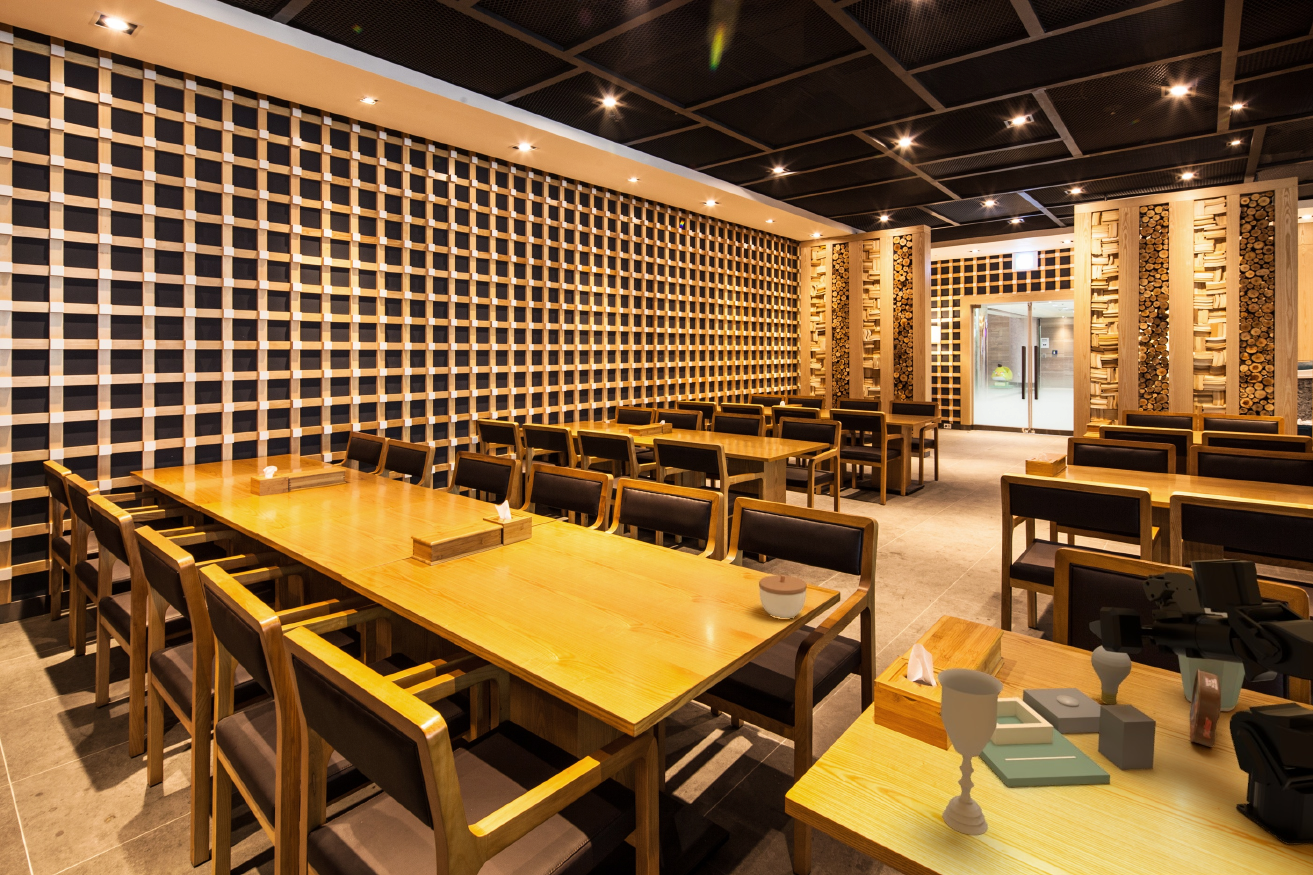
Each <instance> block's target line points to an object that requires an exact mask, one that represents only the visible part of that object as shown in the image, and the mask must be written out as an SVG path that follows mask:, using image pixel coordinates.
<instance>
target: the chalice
mask: <svg viewBox="0 0 1313 875" xmlns="http://www.w3.org/2000/svg"><path fill="white" fill-rule="evenodd" d="M937 679H938V682H939V684H940V686H941V697H940V698H941V702H940V703H941V713H940V717H941V720H942V724H943V726H944V729H945V732H946V734H947V736H948V738H949V741H950V742H951V745H952V747H953V749H954V750H955V752H956V753H957V754H959V755H961V756H962V760H961V761H962V762H961V765H959V767H958V768H959V770H960V771H961V772H960V773H961V775H962V776H961V778H960V779H958V781H957V783H958V784H959V786H960V788H961V793H960V795H955V796H953V797H952V798H951V799H950V800H949V801H948V804H947V805H946V806H945V810H943V812H942V819H943V821H944V822H945V823H946V825H947V826H948V827H950V828H952V829H953V830H954V831H956V832H959V833H962V834H965V835H971V836H977V835H982V834H985V833H986V832H987V831H988V829H989V827H988V823H987V821H986V819H985V815H984V813H983V810H982V808H981V806H980V805H979V804H978V802H977V801H976V800H975V799H973V798H972V797H971V790H972V788H974V787H975V784H974V782H973V781H972V778H971V777H972V774H973V773H974V772H975V769H974V768H973V765H972V760H973V758H976V757H980V756H979V755H980V754H981V752H982V751H983V749H984V748H985V746H986V745H987V743H988V742H989V741H990V739H991V737H992V735H993V733H994V731H995V729H996V726H997V703H998V698H999V695H1000V694H1001V693H1002V691H1003V689H1004V684H1003V682H1001V680H1000V679H998V678H997V677H995V676H993V675H992V674H988V673H986V672H983V671H979V670H976V669H971V668H970V669H969V668H957V667H956V668H947V669H945V670H941V671H940V672H939V673H937Z"/></svg>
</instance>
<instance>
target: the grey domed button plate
mask: <svg viewBox="0 0 1313 875" xmlns="http://www.w3.org/2000/svg"><path fill="white" fill-rule="evenodd" d="M1022 701H1023V702H1025V703H1026V704H1027V705H1028V706H1029V707H1031V708H1032V709H1033V710H1034V711H1035V712H1037V713H1038V714H1039V715H1040V716H1041V717H1043V718H1044V719H1045V720H1046V721H1047V722H1049V723H1050V724H1051V725H1052V726H1053V728H1055V729H1056V730H1057V731H1058V732H1059V733H1061V734H1062V735H1063V734H1083V733H1084V734H1085V733H1086V734H1087V733H1091V734H1092V733H1099V725H1100V707H1101V706H1102V705H1101V704H1100V703H1098V702H1097V701H1096V700H1094V699H1092V698H1091V697H1090V696H1088V695H1087V694H1086V693H1084V692H1083V691H1081V690H1080V689H1078V688H1077V687H1064V688H1061V687H1059V688H1031V689H1030V688H1028V689H1027V688H1026V689H1023V692H1022Z"/></svg>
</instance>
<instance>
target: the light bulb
mask: <svg viewBox="0 0 1313 875" xmlns="http://www.w3.org/2000/svg"><path fill="white" fill-rule="evenodd" d="M1090 657H1091V658H1090V661H1091V666H1092V668H1093V670H1094V672H1095V673H1096V676H1098V679H1099V681H1100V684H1101V687H1100V690H1101V692H1100V693H1101V694H1100V696H1101V697H1100V700H1101V702H1103V703H1104V704H1105V705H1117V702H1118V701H1117V700H1118V699H1117V697H1118V693H1119V687H1120V685H1121V684H1122V682H1124V681H1125V680H1126V678H1127V677H1128V676H1129V675H1130V673H1131V670H1132V661H1131V658H1130V656H1129V654H1128V653H1116V652H1109V651H1106V650H1105V649H1104V648H1103V647H1102V645H1100V646H1097V647H1096V648H1095V649H1094V650H1093V652H1092V653H1091V656H1090Z"/></svg>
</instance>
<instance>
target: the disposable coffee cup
mask: <svg viewBox="0 0 1313 875" xmlns="http://www.w3.org/2000/svg"><path fill="white" fill-rule="evenodd" d="M1204 609H1205V612H1206V613H1211V614H1217V615H1222V616H1223V617H1227V613H1215V612H1211V610H1210V608H1204ZM1177 657H1178V664H1179V669H1180V676H1181V683H1182V691H1183V694H1184V696H1185V697H1186V698H1185V699H1186V701H1188V702H1190V703H1191V701H1192V693H1193V686H1194V681H1195V676H1196V672H1197V670H1198V669H1199V670H1200V671H1204V672H1207V673H1211V674H1214V675H1217V676H1218V677H1219V682H1220V689H1221V709H1220V712H1230V711H1233V710H1235V707H1236V706H1238V702H1239V698H1240V695H1241V690H1242V687H1243V682H1244V678H1245V671H1244V667H1243V664H1240V663H1233V662H1226V661H1218V660H1211V659H1197V658H1188V657H1186V656H1182V655H1177Z"/></svg>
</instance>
